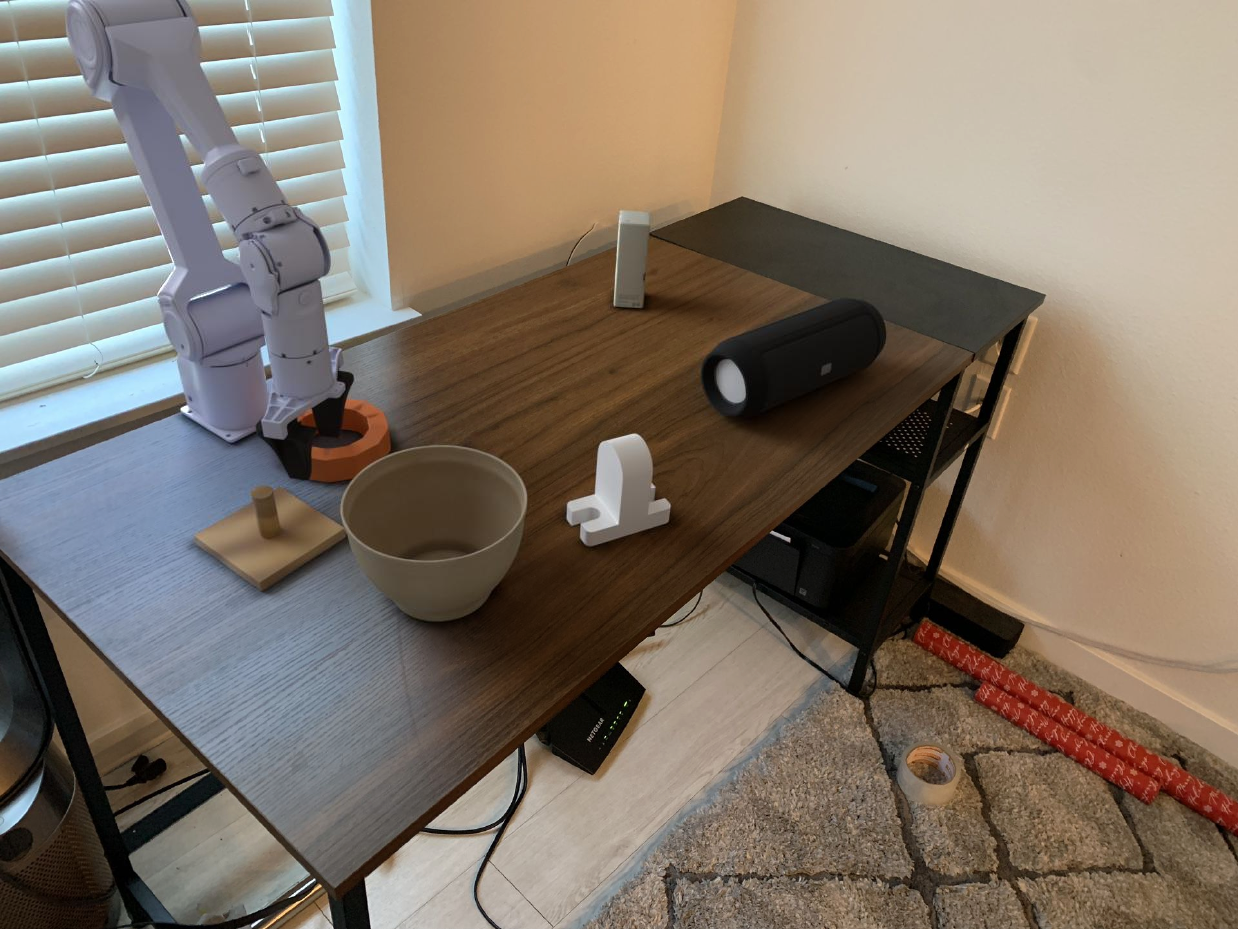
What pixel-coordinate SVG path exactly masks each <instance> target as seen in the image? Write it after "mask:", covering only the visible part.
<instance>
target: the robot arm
mask: <svg viewBox="0 0 1238 929" xmlns="http://www.w3.org/2000/svg"><path fill="white" fill-rule="evenodd" d="M64 13H65V16H64V17H65V18H64V19H65V34H66V37H67V41H68V43H69V46H70V48H71V50H72V53H73V55H74V59H75V61H76V63H77V66H78V68H79V71H80V73H81V76H82V78H83V81H84V83H85V84H86V85H87V87H88V91H89V93H90V95H91V96H92V97H93V98H95V99H99V100H102V101H105V102H108V103H109V104H110V106H111V109H112V111H113V113H114V116H115V118H116V120H117V122H118V125H119V127H120V130H121V133H122V135H123V138H124V140H125V143H126V145H127V148H128V151H129V153H130V156H131V159H132V161H133V163H134V166H135V168H136V171H137V174H138V176H139V179H140V181H141V184H142V187H143V189H144V191H145V194H146V197H147V199H148V201H149V205H150V207H151V210H152V212H153V215H154V218H155V220H156V223H157V225H158V227H159V230H160V232H161V235H162V237H163V240H164V243H165V245H166V248H167V250H168V253H169V255H170V258H171V261H172V263H173V266H174V268H173V270H172V272H171V273H170V275H169V276H168V278H167V279H166V281H165V282H164V283H163V285H162V287H161V288H159V290H158V293H157V302H158V305H159V308H160V311H161V315H162V323H163V328H164V331H165V334H166V336H167V337H166V338H168V341H169V343H170V345H171V346H172V348H173V349H174V351H175V352H176V353H177V357H176V365H177V370H178V374H179V378H180V383H181V386H182V390H183V394H184V399H185V402H186V405H184V406H182V407H181V408H180V409H179V410H180V413H181V414H182V415H184V416H185V417H187V418H189V419H190V420H192V421H194V422H196V424H199V425H200V426H201V427H204V428H205V429H207V430H208V431H210V432H211V433H213V434H214V435H216V436H217V437H219V438H221V439H223V440H224V441H226V442H227V443H231V444H232V443H235V442H237V441H239V440H241V439H243V438H245V437H247V436H249V435H251V434H253V433H255V432H256V435H257V437H258V438H260V439H261V441H263V442H264V443H265V444H266V445H267V446H268V447H269V448H270V449H271V450H272V451H273V452H274V453H275V454H276V456H277V458H278V459H279V461H280V463H281V465H282V466H283V469H284V470H285V472H286V474H287V476H288V478H289V479H292V480H298V481H304V482H308V481H309V478H310V477H311V472H312V458H311V451H312V447H313V442H314V439H315V436H316V435H315V433H316V431H317V430H318V432H319V433H318V435H319V437H325V438H330V439H339V438H340V437H341V433H342V430H343V429H342V422H343V415H344V408H345V403H346V399H348V396H349V393H350V390H351V388H352V387H353V386H352V385H353V384H354V382H355V375H354V374H353V373H352V372H350V371H346V370H340V369H341V368H342V367H343V366H344V365H345V362H344V353H343V348H342V347H341V348H340V347H334V346H330V344H329V336H328V335H329V334H328V328H327V322H326V321H327V320H326V314H325V305H324V298H323V291H322V282H321V280H320V279H321V278H322V277H326V276H328V274H329V273H330V271H331V266H332V264H331V263H332V261H331V259H332V258H331V252H330V248H329V246H328V242H327V240H326V238H325V236H324V235H323V232H322V230H321V228H320V227H319V225H318V224H317V223H316V222H315V221H314V220H313V219H311V217H309V216H307V215H305V214H304V212H302V210H301V209H300V207H298V206H291V204H290V202H289V201H288V199H287V197H286V196H285V194H284V192H283V191H282V189H281V187H280V185H279V184H278V183H277V181H276V179H275V177H274V176H273V174H272V172H271V171H270V169H269V168H268V166H267V165H266V162H265V161H264V159H263V158H262V156H261V154H260V153H259V152H258V151H257V150H256V149H253V148H250V147H248V146H244V145H241V144H240V142H239V141H238V139H237V136H236V135H235V132H234V130H233V129H232V126H231V124H230V122H229V120H228V118H227V116H226V114H225V112H224V109H223V108H222V106H221V104H220V102H219V100H218V98H217V96H216V94H215V92H214V90H213V88H212V85H211V84H210V82H209V80H208V78H207V76H206V74H205V72H204V70H203V68H202V66H201V62H202V56H203V53H202V52H203V51H202V50H203V48H202V39H201V38H202V37H201V33H200V29H199V26H198V21H197V19H196V15H195V14H194V11H193V9H192V8H191V6H190V4H189V2H188V1H187V0H69V1H68V3H67V7H66V9H65V12H64ZM177 126H178V128H179V130H180V131H181V132H182V134H183V135H184V136H185V138H186V139H187V140H188V142H189V143H190V144H191V146H192V147H193V149H194V151H195V152H196V153H197V154H198V156H199V157H200V159H201V160H202V161H203V168H202V170H201V174H200V181H201V183H202V185H203V187H204V189H205V190H206V192H207V194H208V195H209V197H210V198H211V200H212V202H213V203H214V205H215V206H216V207H217V210H218V211H219V213H220V215H221V216H222V218H223V220H224V221H225V224H226V225H227V226H228V228H229V230H230V232H231V233H232V234H233V236H234V239H236V241H237V242H238V249H237V250H238V252H237V253H238V254H236V257H237V261H238V263H237V262H235V261H232V260H230V259H227V258H225V255H224V252H223V250H222V248H221V244H220V242H219V239H218V237H217V234H216V231H215V229H214V225H213V223H212V220H211V218H210V214H209V212H208V209H207V207H206V204H205V201H204V199H203V196H202V193H201V190H200V187H199V185H198V182H197V179H196V177H195V174H194V172H193V169H192V166H191V163H190V160H189V158H188V155H187V152H186V150H185V146H184V144H183V141H182V139H181V136H180V132H179V131H178V128H177ZM229 285H230V286H229ZM226 286H227V287H226ZM208 292H209V293H208ZM202 294H203V295H202ZM198 295H199V296H198ZM265 346H266V349H267V354H268V361H269V367H270V372H271V378H272V383H271V387H270V392H269V387H268V381H267V376H266V371H265V365H264V360H263V354H262V348H263V347H265ZM311 408H312V412H313V416H314V420H315V424H316V427H311V426H305V425H301V421H299V422H298V419H297V417H298V416H300V415H301V414H303V413H305V412H306V411H308V410H309V409H311Z"/></svg>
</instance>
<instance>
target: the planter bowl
mask: <svg viewBox="0 0 1238 929" xmlns="http://www.w3.org/2000/svg"><path fill="white" fill-rule="evenodd" d="M339 509H340V510H339V512H340V517H341V523H342V527H344V529H345V533H346V536H347V539H348V542H349V546H350V548H351V551H352V554H353V556H354V559H355V560H356V562H357V564H358V566H359V568H360V569H361V570H362V572H363V573H364V575H365V576H366V577H367V579H368V580H369V581H370V582H371V583H372V585H373V586H374V587H375V588H376V589H377V590H378V591H380V592H381V594H383V595H384V596H385V597H386V598H388V599H389V600H391V601H392V602H394V605H395V606H396V607H397V608H398V609H399V610H400V611H402V612H403V613H405V614H406V615H408V616H410V617H412V618H414V619H417V620H421V621H426V622H448V621H453V620H458V619H461V618H463V617H466V616H468V615H470V614H472V613H473V612H475V611H477V610H478V609H479V608H481V606H483V605H484V604H485V602H486V601H488V598H489V597H490V595H491V593H492V591H493V590H494V589H495V588H496V587H497V586H498V585H499V583H500V582H502V580H503V578H504V577H505V576H506V575H507V573H508V571H509V569H510V568H511V566H512V564H513V563H514V561H515V558H516V556H517V553H518V551H519V548H520V545H521V542H522V538H523V532H524V524H525V518H526V516H527V512H528V510H527V509H528V492H527V488H526V485H525V483H524V481H523V479H522V478H521V476H520V474H518V472H517V471H516V470H515V469H514V468H513V467H512V466H510V464H508V463H507V462H505V461H504V460H502V459H500V458H499V457H497V456H495V455H492V454H490V453H488V452H484V451H482V450H478V449H475V448H471V447H466V446H460V445H448V444H430V445H424V446H415V447H411V448H406V449H402V450H399V451H396V452H391V453H389V454H388V455H387V456H385V457H383V458H381V459H379V460H377V461H375V462H373V463H372V464H370V465H368V466H367V467H366V468H364V469H363V470H362V471H361V472H360V473H358V474H357V475H356V476H355V478H354V479H351V480H350V482H349V484H348V485H347V487H346V489H345V491H344V492H343V495H342V497H341V501H340V508H339Z"/></svg>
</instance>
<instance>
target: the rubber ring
mask: <svg viewBox="0 0 1238 929" xmlns="http://www.w3.org/2000/svg"><path fill="white" fill-rule="evenodd" d="M386 416H387V415H386V414H385V412H384V411H383V410H381V409H380V408H378V407H376V406H374V405H373V404H371V403H370V402H368V401H366V400H360V399H352V398H347V399H346V403H345V408H344V415H343V422H342V429H341V430H345V431H346V430H347V431H351V432H358V433H359V434H361V435H363V437H362V438H360V439H359V440H356V441H355V442H353V443H351V444H349V445H345V446H339V447H333V448H323V447H317V446H312V451H311V458H312V472H311V477H310V478H309V480H310V481H316V482H317V481H318V482H322V483H334V482H340V481H347V480H348V481H349V480H353V479H354V478H355V476H356V475H357V474H358V473H360V472H361V471H362V470H363V469H364V468H366V467H367V466H368V465H370V464H372V463H373V462H375V461H377V460H379V459H381V458H383V457H385V456H387V455H389V454H390V451H391V450H392V446H391V445H392V444H391V437H390V436H391V435H390V426H389V424H388V420H387V417H386ZM297 419H298V422H299V421H301V425H305V426H311V427H316V424H315V420H314V416H313V412H312V408H311V409H309V410H308V411H306V412H305V413H303V414H301V415H300V416H298V417H297ZM316 435H319V432H318V430H317V431H316V433H315V436H316ZM309 480H308V481H309Z"/></svg>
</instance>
